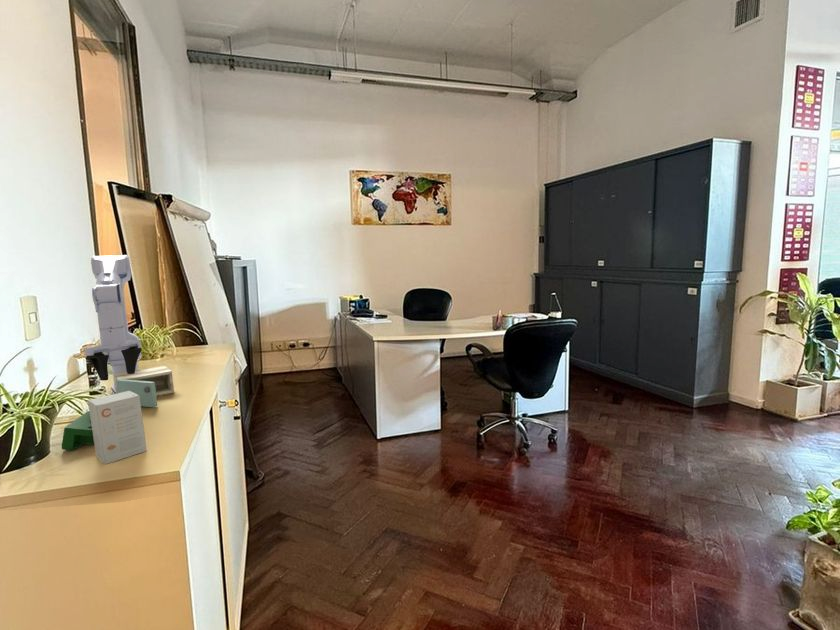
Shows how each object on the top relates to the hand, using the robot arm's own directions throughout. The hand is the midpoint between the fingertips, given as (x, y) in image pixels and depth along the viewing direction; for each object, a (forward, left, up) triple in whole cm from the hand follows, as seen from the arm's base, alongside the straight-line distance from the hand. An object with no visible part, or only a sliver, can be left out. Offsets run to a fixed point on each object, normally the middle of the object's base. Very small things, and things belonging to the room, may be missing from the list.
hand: (118, 376), depth 123 cm
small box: (+32, -5, -11) cm, 34 cm away
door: (-4, +4, -10) cm, 11 cm away
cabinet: (-15, +8, -10) cm, 20 cm away
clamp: (+18, -9, -11) cm, 22 cm away
